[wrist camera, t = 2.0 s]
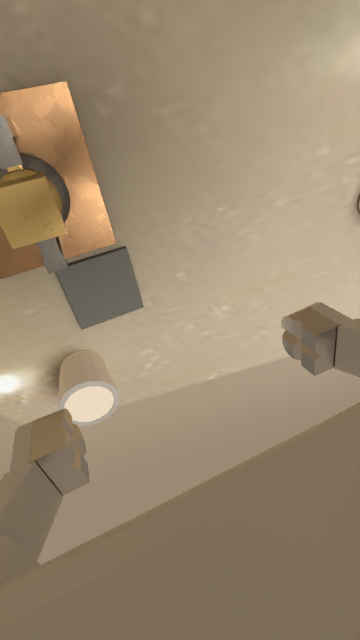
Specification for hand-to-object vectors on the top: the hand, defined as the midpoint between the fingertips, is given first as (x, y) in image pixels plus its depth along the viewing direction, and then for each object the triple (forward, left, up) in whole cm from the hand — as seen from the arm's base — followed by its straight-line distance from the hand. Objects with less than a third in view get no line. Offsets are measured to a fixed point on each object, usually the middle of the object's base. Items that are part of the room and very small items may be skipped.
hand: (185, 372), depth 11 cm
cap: (-4, -4, -20) cm, 21 cm away
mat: (+8, -1, -26) cm, 27 cm away
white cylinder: (+18, -7, -26) cm, 33 cm away
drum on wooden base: (-4, -4, -26) cm, 27 cm away
